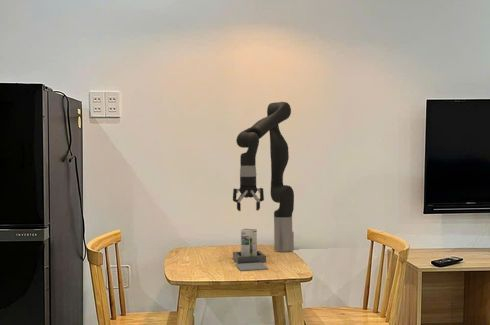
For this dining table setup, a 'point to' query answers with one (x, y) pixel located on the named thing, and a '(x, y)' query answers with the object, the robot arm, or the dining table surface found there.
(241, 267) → the mat
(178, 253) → the dining table surface
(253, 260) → the holder
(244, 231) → the syrup box
